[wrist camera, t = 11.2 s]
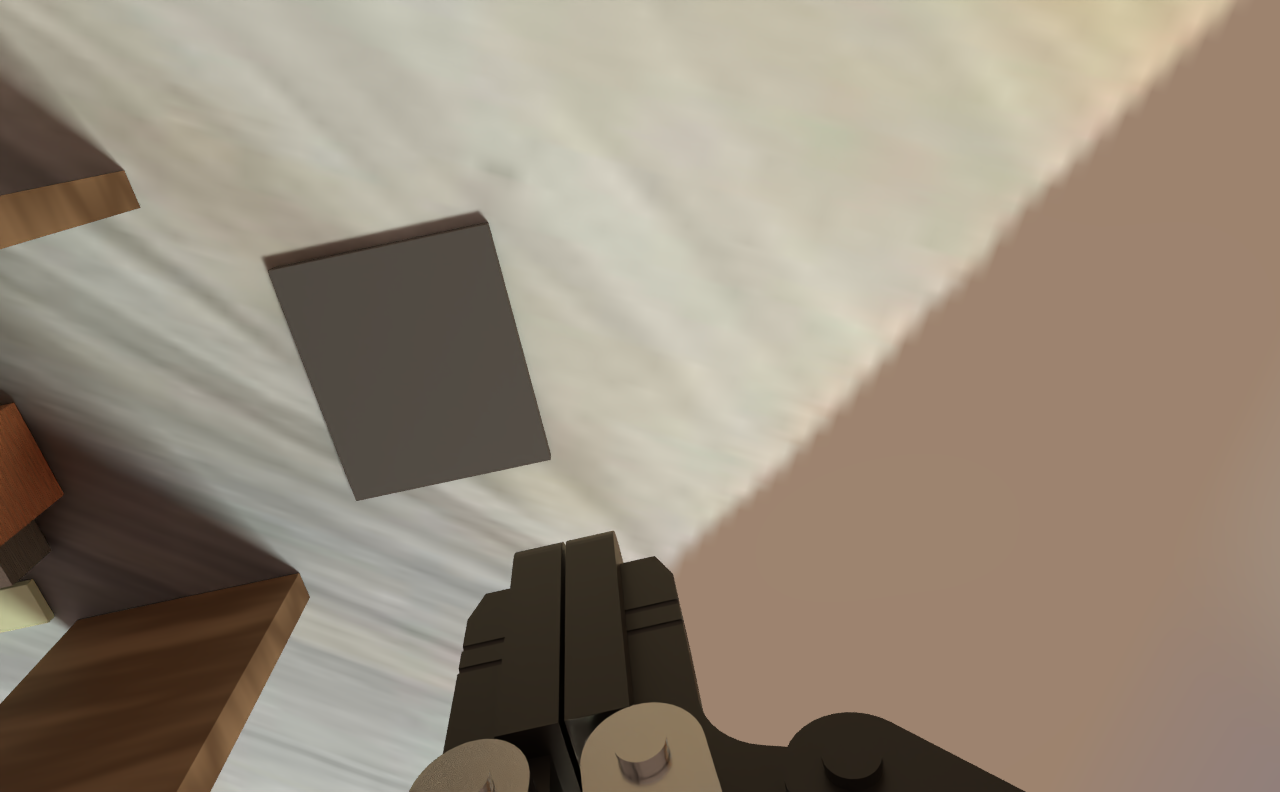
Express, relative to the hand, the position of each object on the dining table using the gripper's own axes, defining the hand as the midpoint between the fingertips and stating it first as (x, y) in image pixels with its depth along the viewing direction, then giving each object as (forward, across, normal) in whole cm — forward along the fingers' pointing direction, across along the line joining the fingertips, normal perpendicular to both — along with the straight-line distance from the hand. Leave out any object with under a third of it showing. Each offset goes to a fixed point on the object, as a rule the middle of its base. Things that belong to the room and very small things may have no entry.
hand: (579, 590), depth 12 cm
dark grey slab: (+27, +9, +4) cm, 28 cm away
